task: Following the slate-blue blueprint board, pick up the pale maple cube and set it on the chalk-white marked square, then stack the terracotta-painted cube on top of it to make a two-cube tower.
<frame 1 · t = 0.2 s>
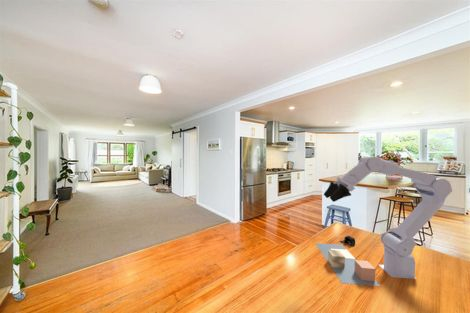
hand: (328, 198, 79), 31 cm above the table, tool tilted 45°, fingers open, 7 cm apart
terracotta cube: (364, 276, 73), point 1 cm above the table, touching blueprint board
blueprint board: (341, 261, 84), on the table
maple cube: (335, 264, 81), point 1 cm above the table, touching blueprint board
build plate: (349, 245, 99), on the table
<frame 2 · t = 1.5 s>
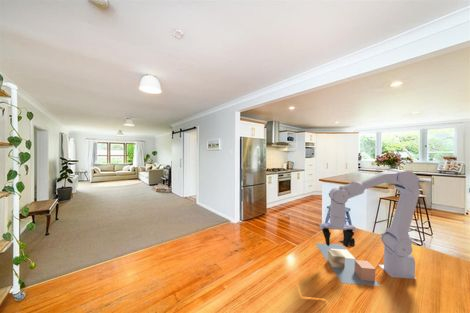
hand: (336, 245, 81), 9 cm above the table, tool pointing down, fingers open, 7 cm apart
nothing on the table moved.
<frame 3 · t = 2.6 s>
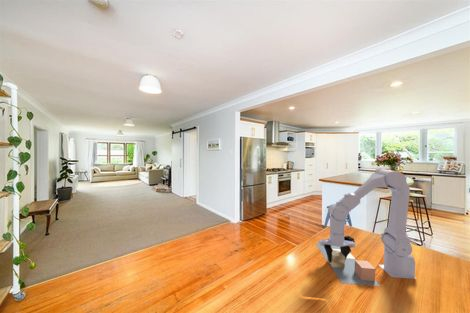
hand: (336, 261, 81), 2 cm above the table, tool pointing down, fingers closed on maple cube, 5 cm apart
maple cube: (335, 264, 81), point 1 cm above the table, touching blueprint board, gripper
everything else where it was.
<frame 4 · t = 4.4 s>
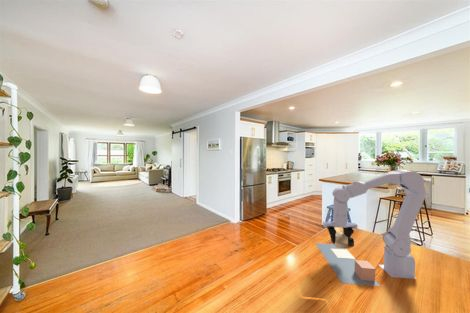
hand: (339, 242, 84), 9 cm above the table, tool pointing down, fingers closed on maple cube, 5 cm apart
maple cube: (339, 245, 84), point 8 cm above the table, touching gripper
when the fingers open (3 cm above the table, at t = 6.5 s): maple cube stays where it is, resting on blueprint board.
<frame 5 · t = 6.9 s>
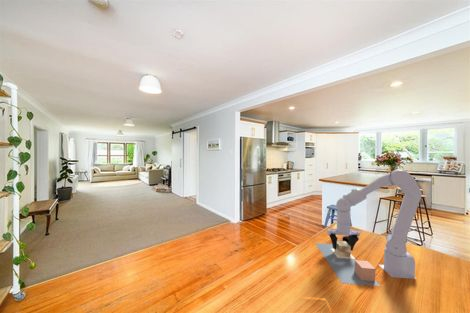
hand: (342, 249, 89), 3 cm above the table, tool pointing down, fingers open, 7 cm apart
maple cube: (342, 253, 89), point 1 cm above the table, touching blueprint board
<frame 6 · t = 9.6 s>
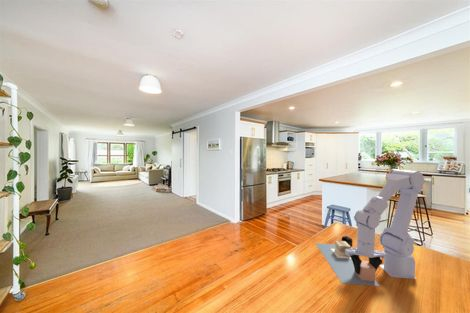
hand: (364, 273, 73), 2 cm above the table, tool pointing down, fingers closed on terracotta cube, 5 cm apart
terracotta cube: (364, 276, 73), point 1 cm above the table, touching blueprint board, gripper
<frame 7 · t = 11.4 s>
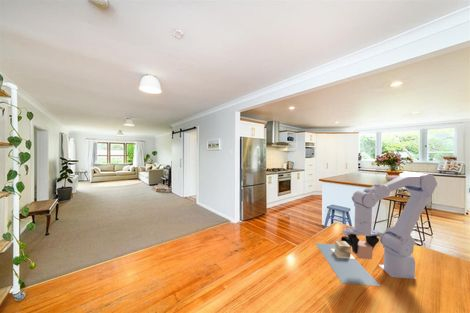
hand: (361, 252, 75), 9 cm above the table, tool pointing down, fingers closed on terracotta cube, 5 cm apart
terracotta cube: (361, 255, 75), point 8 cm above the table, touching gripper
when the fingers open (8 cm above the table, at t = 13.3 s): terracotta cube stays where it is, resting on maple cube.
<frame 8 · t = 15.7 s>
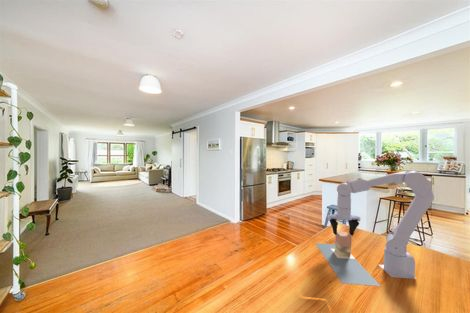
hand: (343, 234, 89), 10 cm above the table, tool pointing down, fingers open, 7 cm apart
terracotta cube: (343, 243, 89), point 6 cm above the table, touching maple cube
maple cube: (342, 253, 89), point 1 cm above the table, touching blueprint board, terracotta cube
at the end: maple cube 0.0 cm from the target spot, point 0.7 cm above the table; terracotta cube 0.3 cm off-centre on the maple cube, point 5.0 cm above the maple cube's base; terracotta cube tilted 0° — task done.
